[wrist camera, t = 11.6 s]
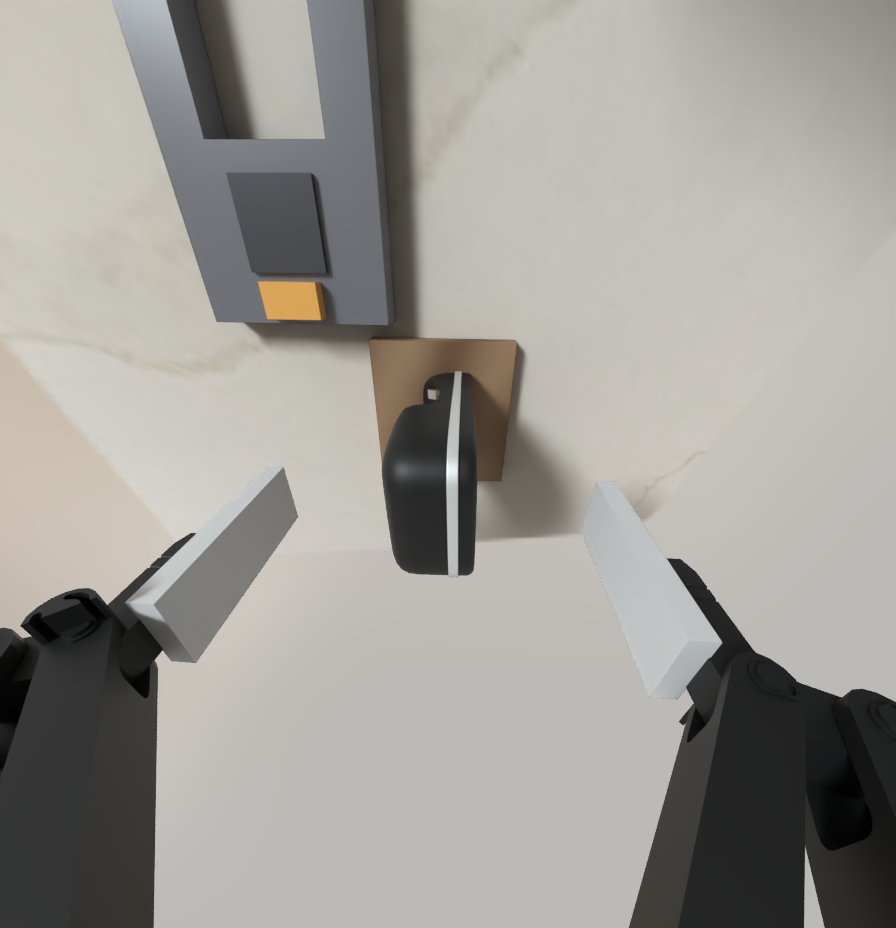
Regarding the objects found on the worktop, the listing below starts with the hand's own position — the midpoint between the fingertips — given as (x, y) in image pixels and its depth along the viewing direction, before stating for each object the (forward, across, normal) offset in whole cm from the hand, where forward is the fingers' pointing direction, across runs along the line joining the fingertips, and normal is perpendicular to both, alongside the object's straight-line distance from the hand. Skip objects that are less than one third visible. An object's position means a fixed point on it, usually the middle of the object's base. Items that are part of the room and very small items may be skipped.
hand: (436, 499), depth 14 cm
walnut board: (+10, 0, 0) cm, 10 cm away
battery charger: (+10, 0, 0) cm, 10 cm away
